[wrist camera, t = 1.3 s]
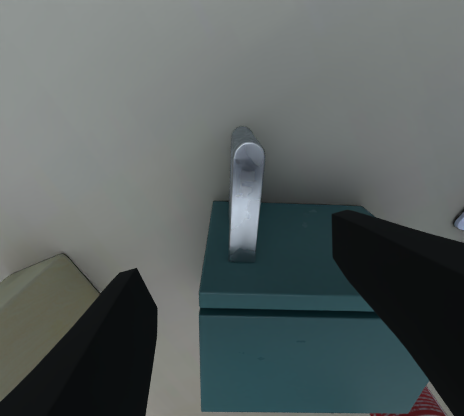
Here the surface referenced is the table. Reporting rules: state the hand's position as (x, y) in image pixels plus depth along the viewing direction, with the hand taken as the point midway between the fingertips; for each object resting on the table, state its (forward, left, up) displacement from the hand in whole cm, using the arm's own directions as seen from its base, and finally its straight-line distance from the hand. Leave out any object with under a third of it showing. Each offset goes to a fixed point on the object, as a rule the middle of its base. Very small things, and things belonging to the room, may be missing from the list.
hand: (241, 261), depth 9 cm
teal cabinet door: (-2, +4, -11) cm, 12 cm away
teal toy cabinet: (+6, +7, -11) cm, 14 cm away
